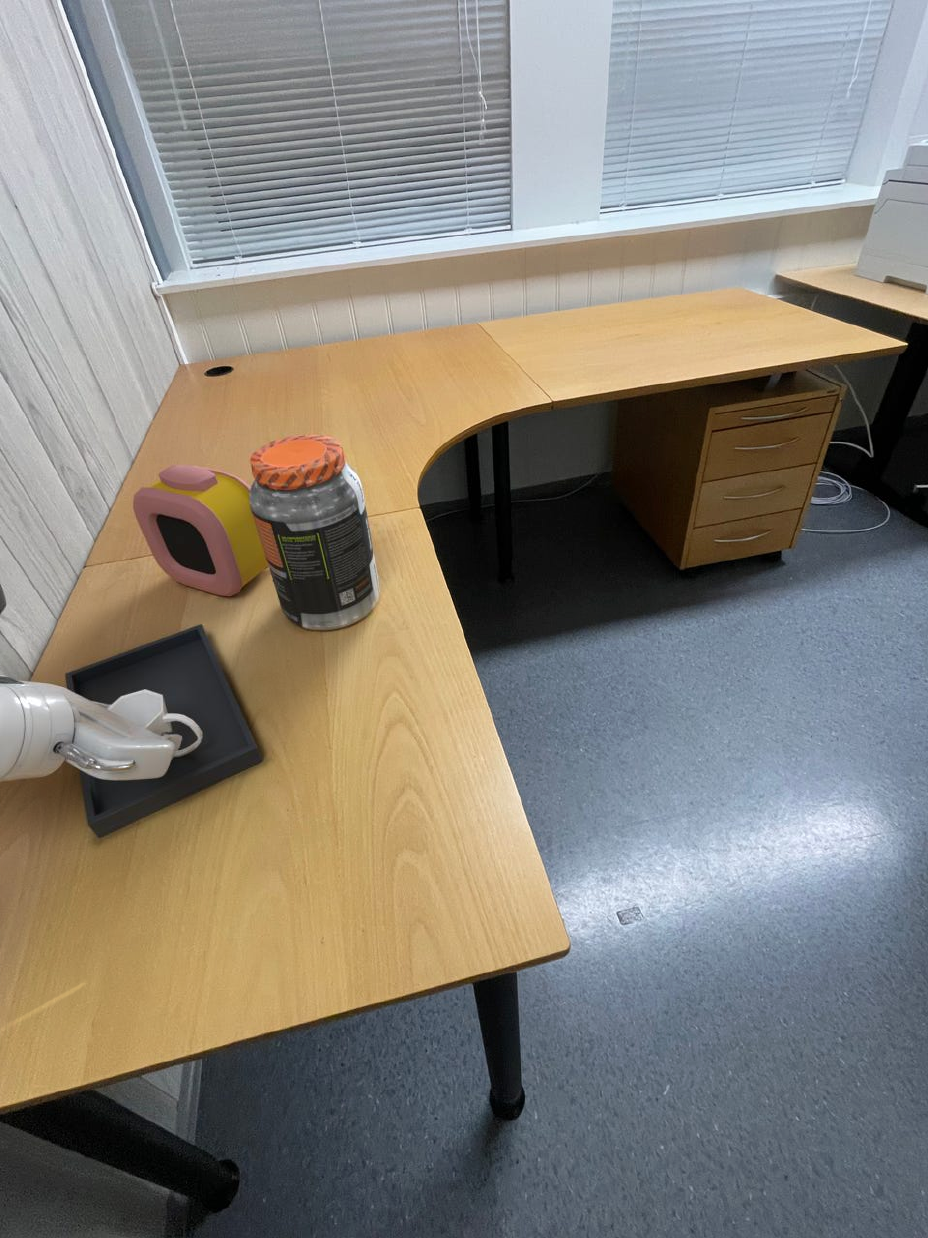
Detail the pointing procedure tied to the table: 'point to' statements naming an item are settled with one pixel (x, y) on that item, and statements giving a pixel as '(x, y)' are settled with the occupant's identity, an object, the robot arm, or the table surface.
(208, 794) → the table surface
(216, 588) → the alarm clock
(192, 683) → the tray
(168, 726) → the cup
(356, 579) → the supplement tub
